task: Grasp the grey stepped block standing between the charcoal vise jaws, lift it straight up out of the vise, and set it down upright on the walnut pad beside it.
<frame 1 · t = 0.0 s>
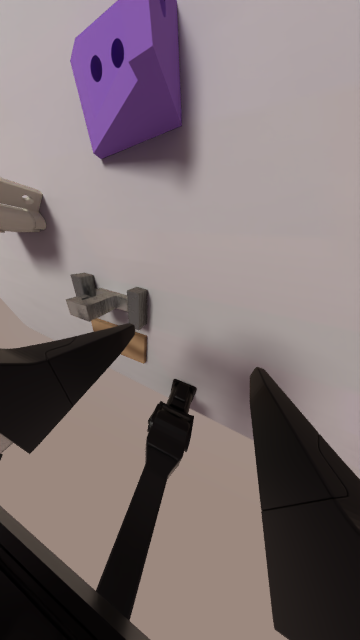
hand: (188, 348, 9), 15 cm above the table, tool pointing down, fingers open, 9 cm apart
vise jaws: (116, 298, 29), on the table
grey stepped block: (116, 298, 29), on the table
hinge: (30, 215, 26), on the table
walnut pad: (120, 339, 35), on the table
bracket: (133, 103, 15), on the table
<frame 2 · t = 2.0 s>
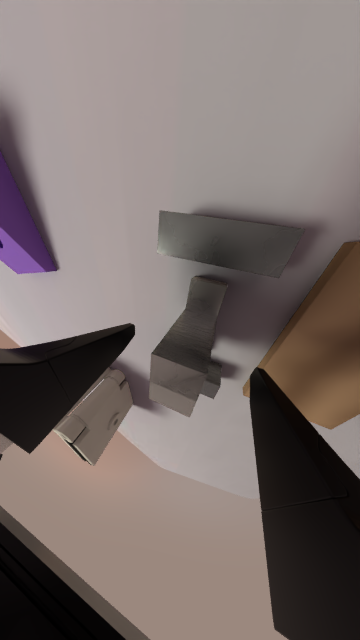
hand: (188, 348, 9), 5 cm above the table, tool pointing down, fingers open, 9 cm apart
vise jaws: (200, 317, 14), on the table
grey stepped block: (200, 316, 14), on the table
hinge: (118, 381, 27), on the table
walnut pad: (331, 355, 11), on the table
bracket: (20, 221, 16), on the table
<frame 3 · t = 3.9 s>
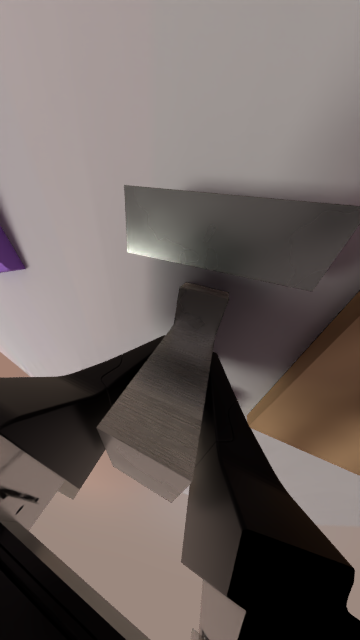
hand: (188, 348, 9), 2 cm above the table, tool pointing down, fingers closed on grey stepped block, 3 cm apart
vise jaws: (194, 333, 11), on the table
grey stepped block: (194, 333, 11), on the table, touching gripper
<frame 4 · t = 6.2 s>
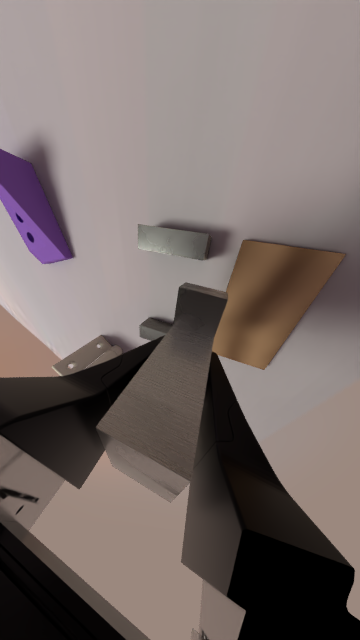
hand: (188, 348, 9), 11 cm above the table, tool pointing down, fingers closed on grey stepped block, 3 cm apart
vise jaws: (172, 293, 20), on the table
grey stepped block: (194, 333, 11), point 9 cm above the table, touching gripper
hinge: (116, 356, 32), on the table
walnut pad: (254, 313, 17), on the table
bracket: (45, 222, 22), on the table
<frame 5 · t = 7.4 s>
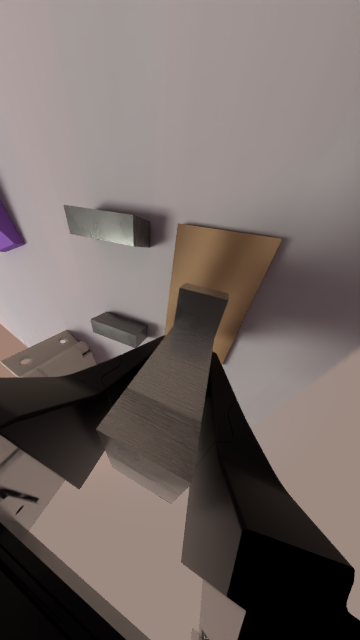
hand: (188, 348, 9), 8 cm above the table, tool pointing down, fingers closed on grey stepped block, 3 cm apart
vise jaws: (123, 285, 18), on the table
grey stepped block: (194, 333, 11), point 6 cm above the table, touching gripper
hinge: (85, 353, 31), on the table
walnut pad: (204, 308, 16), on the table
when the fingers open (4 cm above the table, at t = 8.6 s): grey stepped block drops 1 cm, resting on walnut pad.
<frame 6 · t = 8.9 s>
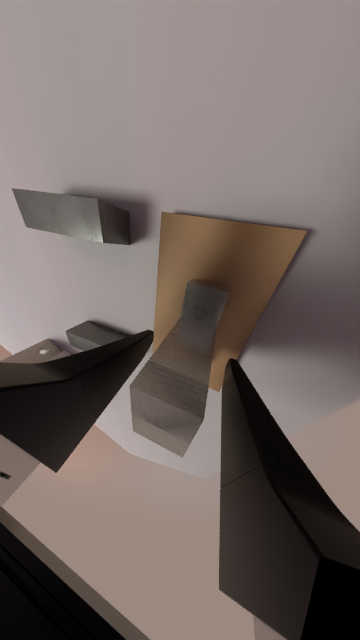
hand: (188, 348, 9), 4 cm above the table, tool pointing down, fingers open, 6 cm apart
vise jaws: (103, 291, 15), on the table
grey stepped block: (198, 325, 12), point 1 cm above the table, touching walnut pad
hinge: (70, 363, 28), on the table
walnut pad: (199, 320, 13), on the table
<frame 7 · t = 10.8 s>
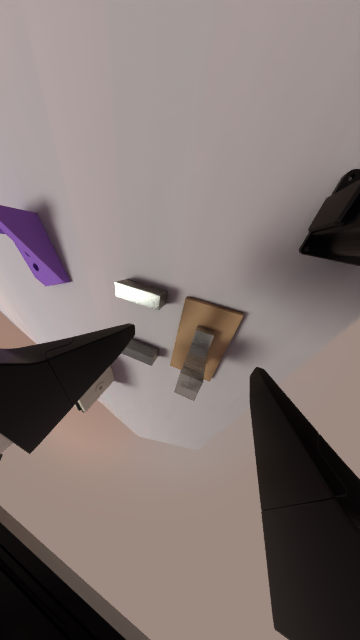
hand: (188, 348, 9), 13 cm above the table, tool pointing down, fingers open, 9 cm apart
vise jaws: (144, 322, 26), on the table
grey stepped block: (199, 345, 23), point 1 cm above the table, touching walnut pad
hinge: (103, 363, 39), on the table
walnut pad: (200, 342, 24), on the table
bracket: (48, 254, 27), on the table
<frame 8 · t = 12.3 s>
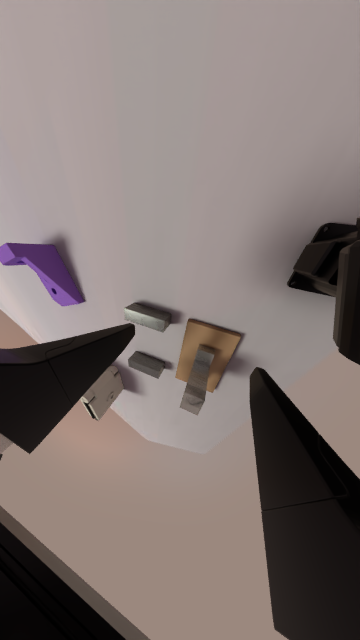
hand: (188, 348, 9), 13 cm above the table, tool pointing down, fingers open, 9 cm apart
vise jaws: (150, 339, 29), on the table
grey stepped block: (201, 361, 25), point 1 cm above the table, touching walnut pad
hinge: (113, 373, 42), on the table
walnut pad: (202, 358, 26), on the table
bracket: (63, 278, 30), on the table
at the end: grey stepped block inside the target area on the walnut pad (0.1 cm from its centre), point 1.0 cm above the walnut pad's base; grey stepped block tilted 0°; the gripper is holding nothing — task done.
